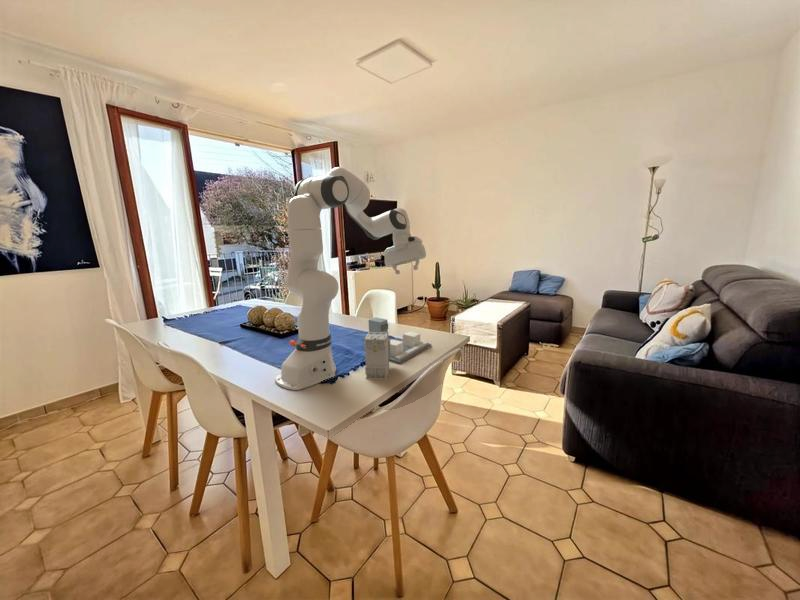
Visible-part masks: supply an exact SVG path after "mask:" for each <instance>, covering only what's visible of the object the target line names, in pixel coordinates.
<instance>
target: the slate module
mask: <svg viewBox="0 0 800 600" xmlns="http://www.w3.org/2000/svg"><path fill="white" fill-rule="evenodd" d="M388 330H389V323H388V319H385V318H381V317H373V318H370V319H368V332H388ZM388 333H389V332H388Z"/></svg>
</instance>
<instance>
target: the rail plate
mask: <svg viewBox="0 0 800 600" xmlns="http://www.w3.org/2000/svg"><path fill="white" fill-rule="evenodd" d="M430 346H431V347H432V343H429V341H425V340H424V341H421V333H419V332H413V331H411V330H410V331H407V332H405V333H403V334H402V339H401V340H397V339H392V338H391V339H390V354H391V356H390V359H389V363H390V362H391V363H395V364H398V365H401V364H403V363H404V362H406V361H408V360H410V359H411V358H413V357H415V356H417V355H418V354H420V353H422V352H423V351H425V350H427V349H429V348H431V347H430ZM428 347H429V348H428Z"/></svg>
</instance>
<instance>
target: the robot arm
mask: <svg viewBox="0 0 800 600" xmlns="http://www.w3.org/2000/svg"><path fill="white" fill-rule="evenodd" d="M370 199H371V191H370V189H369V187H368V186H367V184H366V183H365V182H364V181H362V179H360V178H359V177H357V175H355V174H354V173H353V172H351V171H349V170H347V169H346V168H344V167H341V166H337V167H334V168H331V169H330V170H329V172H327V175H316V176H312V177H309V178H303V179H301V180H299V181H298V182H297V183H296V184H295V187H294V189H293V197H292V198H290V200H289V201H288V204H287V229H288V230H287V231H288V240H289V251H290V253H289V255H290V256H289V257H290V259H289V264H288V271H287V272H286V275H285V277H284V283H283V284H284V287H285V288H286V290H287V291H288V292H289V293H291V294H292V295H293V296H295V297H298V298H301V299H302V304H301V311H300V313H299V314H297V315H298V316H297V318H296V319H297V328H298V337H297V341H296V340H293V339H291V340H290V341H289V345H290V347H291V346H292V347H295V349H294V350H292V352H291V353H290V354H289V356H288V357H287V358H286V359H285V360H284V361H283V363H282V364H281V372H280V374H278V375H277V376H275V378H274V381H275V384H276V385H278V386H280V387H282V388H284V389H286V390H287V389H288V390H292V391H300V390H303V389H307V388H309V387H311V386H313V385H316V384H319V383H322V382H324V381H323V380H325V379H328V378H331V377H333V378H335V377H336V371H337V367H336V366H337V365H336V364H335V361H334V357H333V353H332V352H333V351H332V334H331V333H330V319H329V318H330V317H329V316H330V315H329V314H330V309H331V304H332V302H333V301H334V299H335V298H336V297H337V295H338V292H339V282H338V280H337V279H336V278H335V276H333V275H332V274H330V273H328V272H327V271H324V270H320V269H319V270H318V265H319V259H320V257H321V255H322V254H323V252H324V243H323V231H322V222H321V217H320V216H321V213H322V212H321V211H322V210H326V209H331V208H334V209H337V208H339V207H341V206H344V209H345V212H346V213H347V214H348V216H349V218H351V219H352V220H353V221H354V222H355V223H356V224H357V225H358V226H359V227H360V228H361V229H362V230H363V231H364V233H365V235H366V236H367V237H368V238H370V239H371V240H373V241H374V240H375V241H376V240H379V239H381V238H383V237H386V236H389V235H391V234H392V242H393V243H392V244H393V245H392V246H390V247H387V248H386V249H385V250H384V251H383V252H384V253H383V254H384V265H385V266H386V267H387V268H392V269H393V270H394V271H395V272H394V273H395V275H400V274H401V272H400V270H399V269H397V268H398V266H399V265H403V264H407V263H411V262H415V264H414V265H413V270H414V271H416V270H419V264H420V260H422V259H426V257H427V252H426V248H425V245H424V244H423V240H422V239H421V238H420V237H418V236H415V235H414V236H412V234H411V225H410V220H409V215H408V213H407V210H405V209H404V208H400V207H399V208H394V209H390V210H387V211H385V212H383V213H381V214H379V215H376V216H372V217H371V216H368V215H367V214H366V213H365V212H364V210H365V209H366V208H367V207H368V205H369V203H370ZM334 376H335V377H334ZM331 379H332V378H331ZM328 380H329V379H328ZM321 381H322V382H321ZM325 381H326V380H325Z"/></svg>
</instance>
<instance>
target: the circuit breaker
mask: <svg viewBox="0 0 800 600" xmlns="http://www.w3.org/2000/svg"><path fill="white" fill-rule="evenodd" d="M363 340H364V344H363V346H364V349H363V350H364V355H365V357H364V358H365V360H364V361H365V366H364V367H365V369H364V370H365V374H364V375H365V376H366V377H365V379H367V380H387V378H388V374H389V372H390V361H389V359H390V356H391V354H390V340H391V338H390V337H389V332H369V331H368V332H367V334H366V335H365V337H364V339H363Z"/></svg>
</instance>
